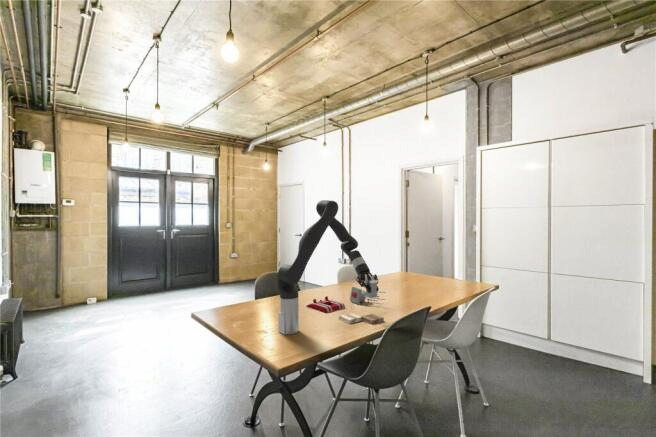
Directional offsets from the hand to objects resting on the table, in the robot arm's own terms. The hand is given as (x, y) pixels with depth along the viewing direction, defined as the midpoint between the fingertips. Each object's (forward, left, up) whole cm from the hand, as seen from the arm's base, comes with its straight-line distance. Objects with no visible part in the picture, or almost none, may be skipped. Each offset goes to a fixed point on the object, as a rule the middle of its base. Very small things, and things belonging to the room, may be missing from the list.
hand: (373, 291), depth 176 cm
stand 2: (0, +2, -16) cm, 17 cm away
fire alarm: (-5, +40, -17) cm, 44 cm away
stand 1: (-9, +10, -16) cm, 21 cm away
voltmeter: (+22, +30, -17) cm, 41 cm away
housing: (0, +2, -4) cm, 5 cm away
